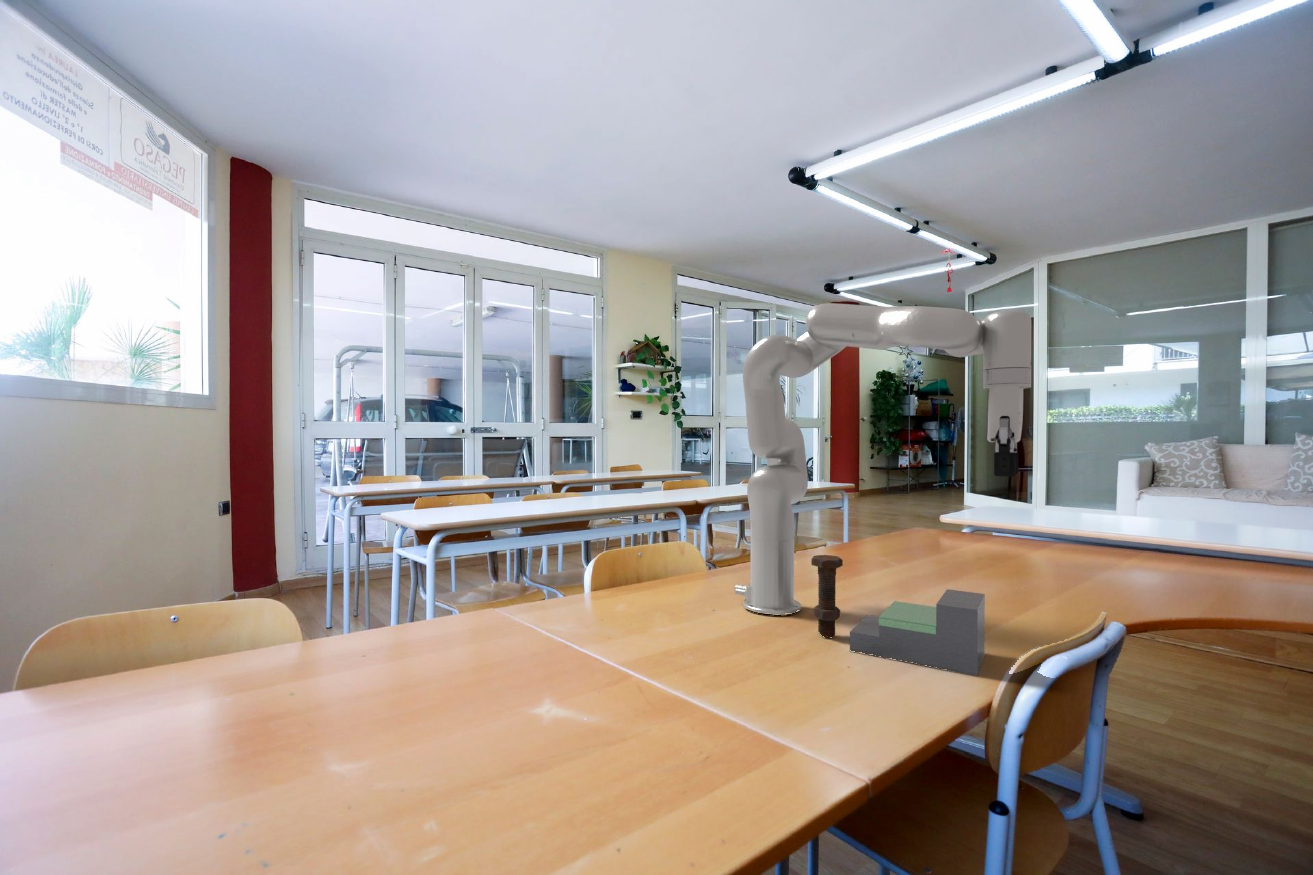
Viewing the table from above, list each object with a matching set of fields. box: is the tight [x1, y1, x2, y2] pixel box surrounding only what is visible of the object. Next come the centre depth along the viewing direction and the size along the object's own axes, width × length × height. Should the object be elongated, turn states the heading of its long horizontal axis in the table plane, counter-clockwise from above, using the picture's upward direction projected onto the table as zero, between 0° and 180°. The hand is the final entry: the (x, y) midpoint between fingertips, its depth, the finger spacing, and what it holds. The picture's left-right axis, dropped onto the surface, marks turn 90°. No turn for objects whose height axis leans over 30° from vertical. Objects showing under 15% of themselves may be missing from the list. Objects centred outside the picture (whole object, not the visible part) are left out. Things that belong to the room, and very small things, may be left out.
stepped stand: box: [849, 588, 986, 677], centre depth 106 cm, size 20×12×10 cm, turn 57°
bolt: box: [810, 554, 844, 638], centre depth 115 cm, size 6×5×15 cm
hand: (1006, 474), depth 110 cm, fingers open, 9 cm apart
